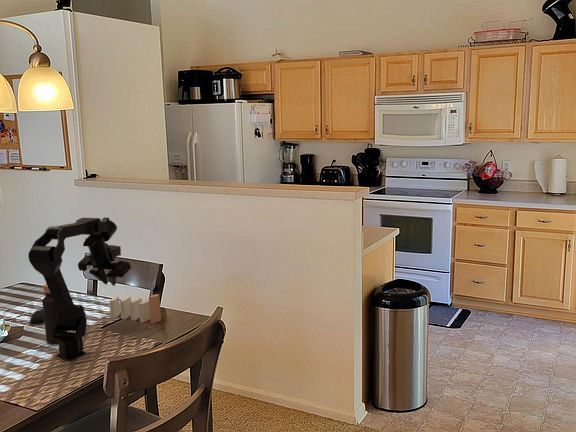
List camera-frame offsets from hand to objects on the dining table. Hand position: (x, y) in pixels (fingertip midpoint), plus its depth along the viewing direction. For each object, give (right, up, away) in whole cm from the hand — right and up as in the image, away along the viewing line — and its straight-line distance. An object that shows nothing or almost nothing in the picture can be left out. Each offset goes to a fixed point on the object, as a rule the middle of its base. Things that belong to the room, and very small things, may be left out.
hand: (110, 284), depth 203 cm
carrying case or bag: (-25, -15, +9) cm, 30 cm away
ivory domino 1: (-1, -13, +11) cm, 17 cm away
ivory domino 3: (+7, -14, +8) cm, 18 cm away
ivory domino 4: (+11, -14, +6) cm, 19 cm away
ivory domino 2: (+3, -13, +10) cm, 17 cm away
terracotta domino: (+15, -14, +4) cm, 21 cm away
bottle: (-15, -18, -11) cm, 26 cm away
